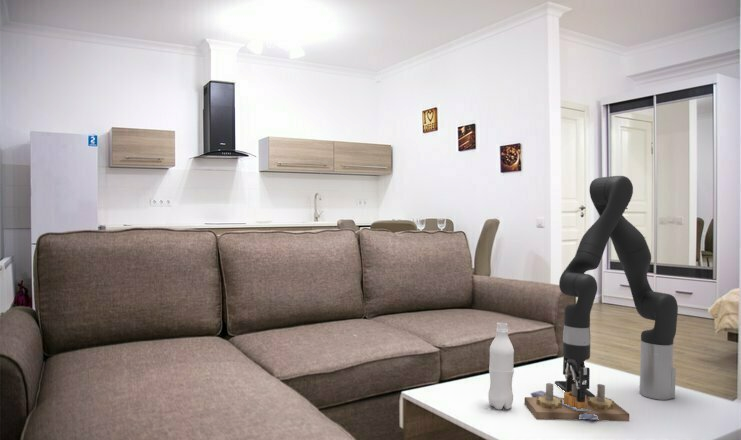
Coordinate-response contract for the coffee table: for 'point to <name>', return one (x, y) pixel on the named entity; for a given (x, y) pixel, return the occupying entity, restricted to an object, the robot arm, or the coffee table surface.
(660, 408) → the coffee table surface
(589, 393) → the phone
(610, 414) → the gear board
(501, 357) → the water bottle
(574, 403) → the gear
